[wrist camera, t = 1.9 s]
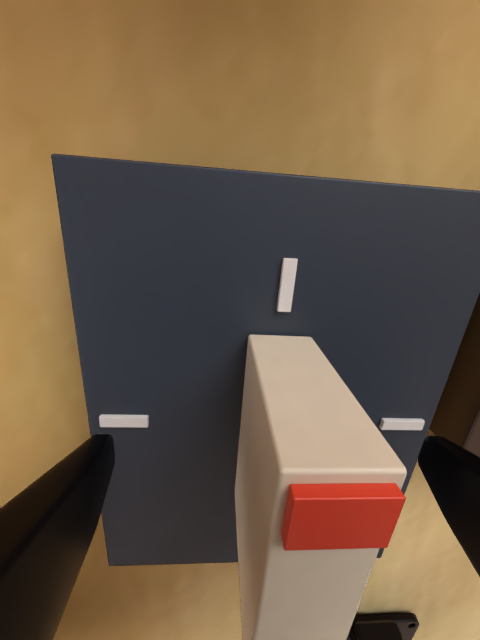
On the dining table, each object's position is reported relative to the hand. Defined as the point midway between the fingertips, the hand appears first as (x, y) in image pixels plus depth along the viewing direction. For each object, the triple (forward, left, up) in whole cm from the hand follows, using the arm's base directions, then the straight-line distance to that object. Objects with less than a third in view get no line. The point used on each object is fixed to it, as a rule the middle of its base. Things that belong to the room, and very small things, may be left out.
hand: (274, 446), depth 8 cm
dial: (0, 0, -1) cm, 1 cm away
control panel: (0, 0, -4) cm, 4 cm away
